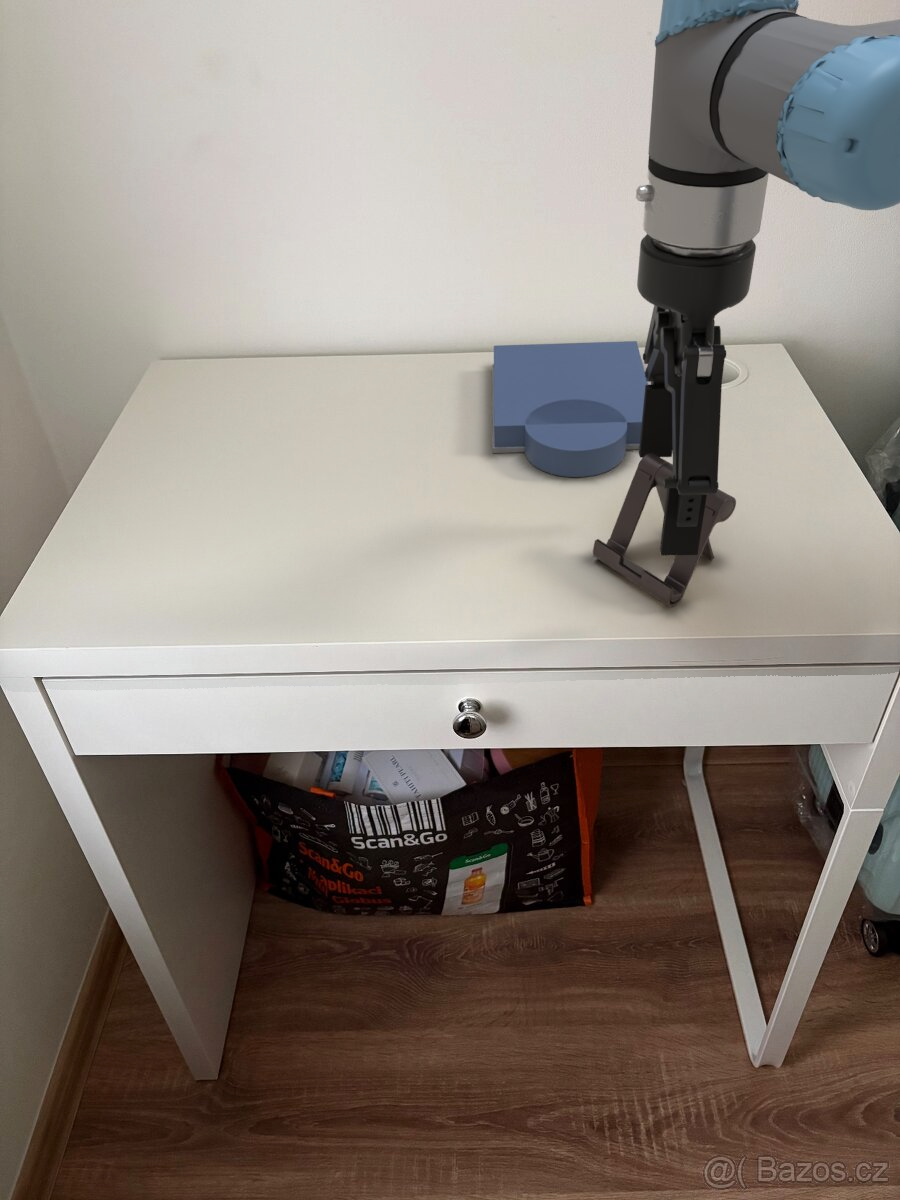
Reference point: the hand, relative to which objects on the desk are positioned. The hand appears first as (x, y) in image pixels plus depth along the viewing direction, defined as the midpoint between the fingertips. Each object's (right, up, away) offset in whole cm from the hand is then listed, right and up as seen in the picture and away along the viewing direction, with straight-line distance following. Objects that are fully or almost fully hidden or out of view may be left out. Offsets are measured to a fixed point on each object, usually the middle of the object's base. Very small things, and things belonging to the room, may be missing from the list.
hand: (666, 500), depth 78 cm
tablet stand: (0, -5, +4) cm, 7 cm away
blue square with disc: (-5, +11, +24) cm, 27 cm away
